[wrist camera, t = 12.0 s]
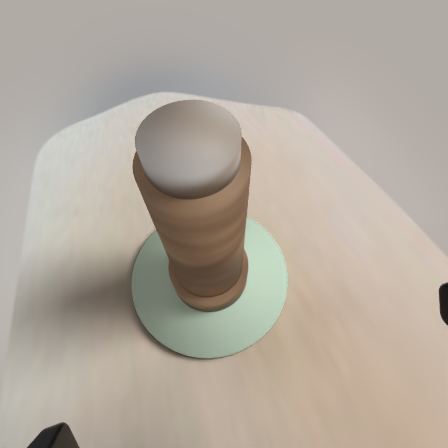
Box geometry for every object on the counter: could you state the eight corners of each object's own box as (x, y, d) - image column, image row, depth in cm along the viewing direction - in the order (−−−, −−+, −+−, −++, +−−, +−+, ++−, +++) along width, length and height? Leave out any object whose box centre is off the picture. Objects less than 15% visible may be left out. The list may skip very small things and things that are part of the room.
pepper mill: (224, 326, 20) (217, 225, 9) (158, 289, 22) (77, 159, 10) (259, 261, 22) (289, 112, 11) (197, 231, 24) (167, 71, 12)
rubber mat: (242, 394, 19) (242, 394, 18) (101, 306, 22) (98, 304, 21) (309, 248, 23) (311, 245, 23) (186, 192, 26) (185, 188, 26)
